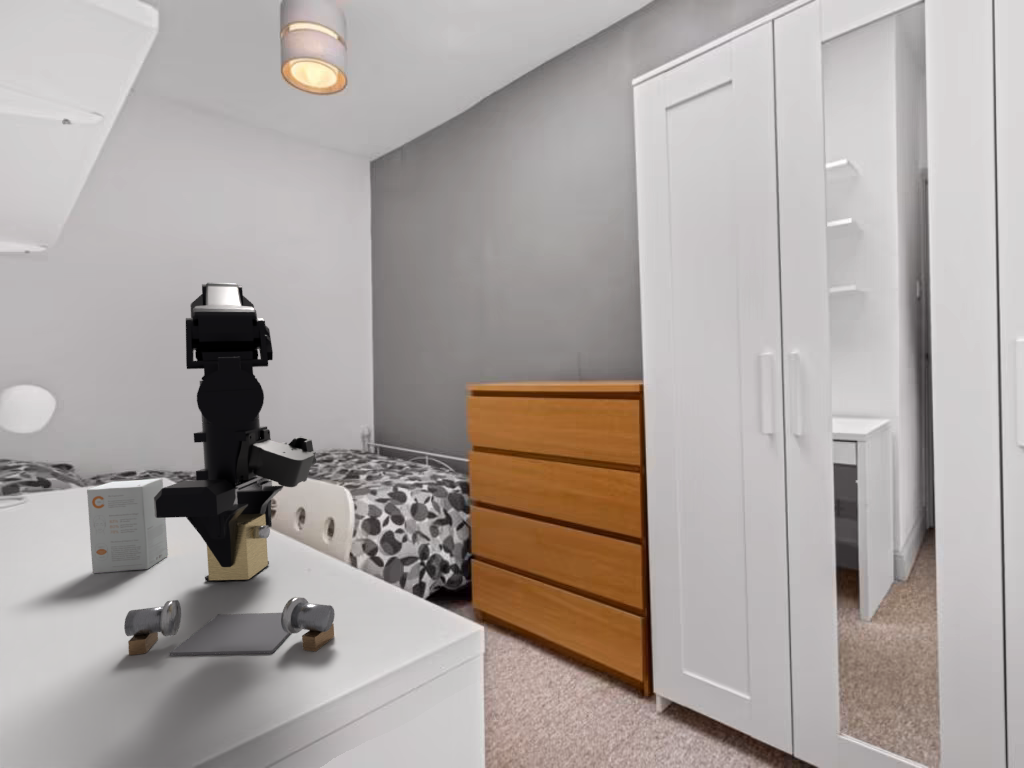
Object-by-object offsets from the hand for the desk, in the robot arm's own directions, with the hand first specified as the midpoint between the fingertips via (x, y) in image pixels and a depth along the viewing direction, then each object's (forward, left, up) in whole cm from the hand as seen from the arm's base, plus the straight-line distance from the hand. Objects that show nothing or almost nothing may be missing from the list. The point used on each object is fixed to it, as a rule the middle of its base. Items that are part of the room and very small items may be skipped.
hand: (239, 559), depth 62 cm
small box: (-24, -31, -9) cm, 40 cm away
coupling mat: (0, 0, -8) cm, 8 cm away
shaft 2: (+2, +9, -8) cm, 12 cm away
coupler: (0, 0, -2) cm, 2 cm away
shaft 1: (+2, -9, -8) cm, 12 cm away
